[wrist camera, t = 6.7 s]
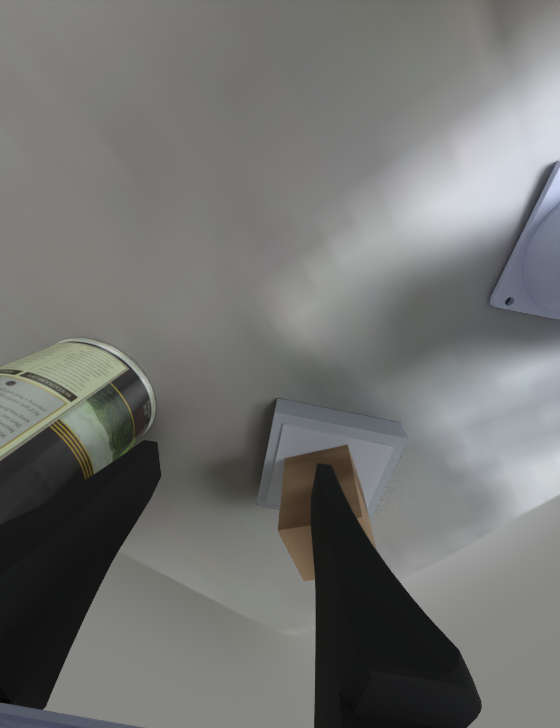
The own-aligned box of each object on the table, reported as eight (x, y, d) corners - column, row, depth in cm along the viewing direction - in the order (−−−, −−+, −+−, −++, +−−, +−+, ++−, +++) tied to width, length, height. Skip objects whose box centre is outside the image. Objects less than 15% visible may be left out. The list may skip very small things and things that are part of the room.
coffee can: (182, 407, 23) (33, 609, 11) (107, 458, 27) (-77, 661, 14) (86, 309, 21) (-278, 422, 8) (15, 379, 24) (-327, 541, 11)
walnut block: (347, 444, 21) (362, 517, 15) (363, 491, 23) (381, 571, 17) (284, 458, 22) (277, 530, 16) (304, 502, 24) (303, 581, 18)
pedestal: (400, 422, 22) (409, 440, 20) (362, 507, 26) (367, 529, 24) (277, 398, 22) (274, 413, 20) (259, 486, 26) (255, 507, 24)
